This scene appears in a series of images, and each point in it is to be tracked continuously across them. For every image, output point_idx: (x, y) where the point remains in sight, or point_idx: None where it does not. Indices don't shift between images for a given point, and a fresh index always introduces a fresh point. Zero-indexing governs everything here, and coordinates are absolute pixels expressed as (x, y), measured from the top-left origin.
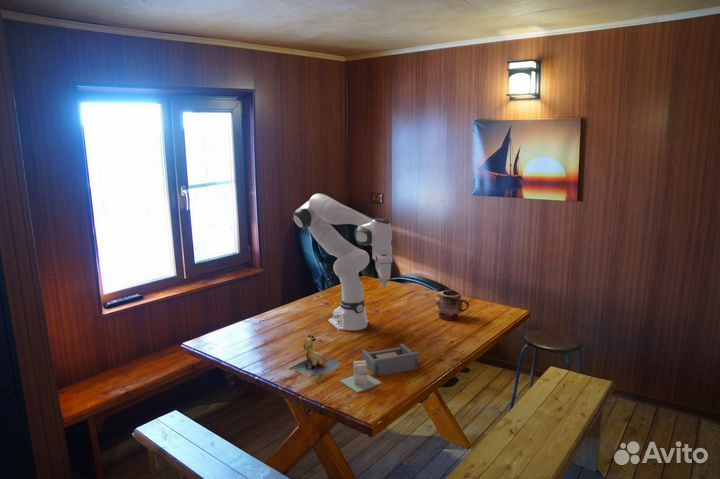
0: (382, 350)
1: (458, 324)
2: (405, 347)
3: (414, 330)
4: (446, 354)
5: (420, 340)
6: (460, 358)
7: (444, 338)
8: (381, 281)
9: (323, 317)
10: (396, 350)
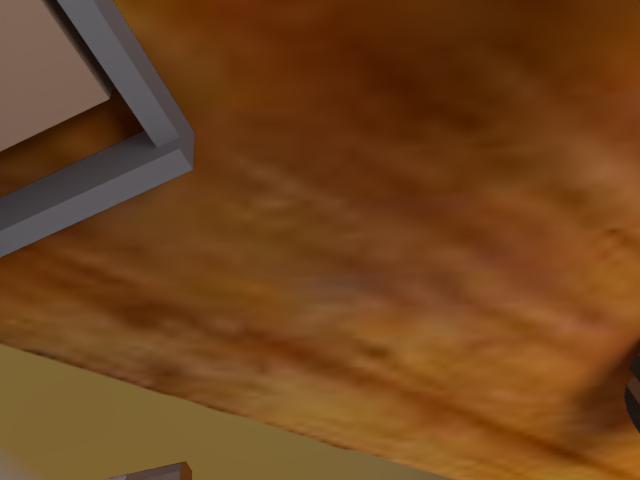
0: (90, 6)
1: (587, 368)
2: (123, 187)
3: (565, 182)
4: (218, 338)
5: (407, 219)
6: (179, 387)
7: (423, 324)
8: (633, 385)
9: None
10: (136, 111)
